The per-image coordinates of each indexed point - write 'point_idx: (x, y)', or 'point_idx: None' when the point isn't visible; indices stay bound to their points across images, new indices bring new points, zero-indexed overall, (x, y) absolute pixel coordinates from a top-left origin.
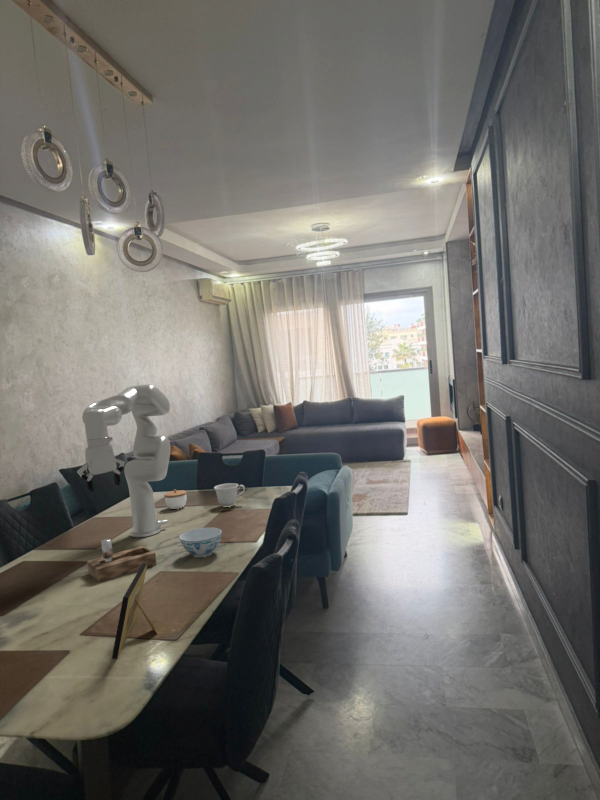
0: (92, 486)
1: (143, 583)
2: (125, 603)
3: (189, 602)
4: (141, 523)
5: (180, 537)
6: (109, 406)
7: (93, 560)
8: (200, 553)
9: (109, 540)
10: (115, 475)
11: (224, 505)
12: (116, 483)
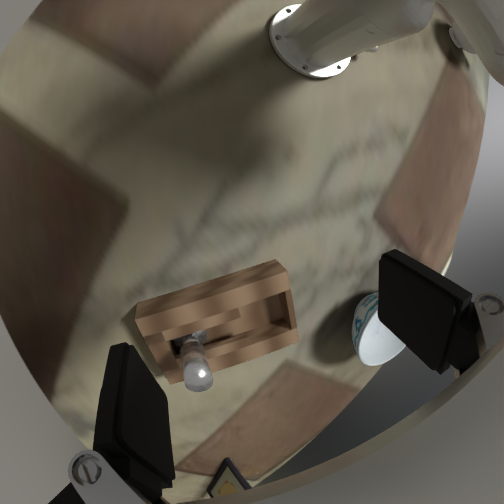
0: (166, 436)
1: (249, 485)
2: None
3: (286, 444)
4: (320, 51)
5: (364, 330)
6: None
7: (151, 326)
8: (362, 338)
9: (208, 387)
10: (440, 352)
11: (455, 38)
12: (386, 305)
